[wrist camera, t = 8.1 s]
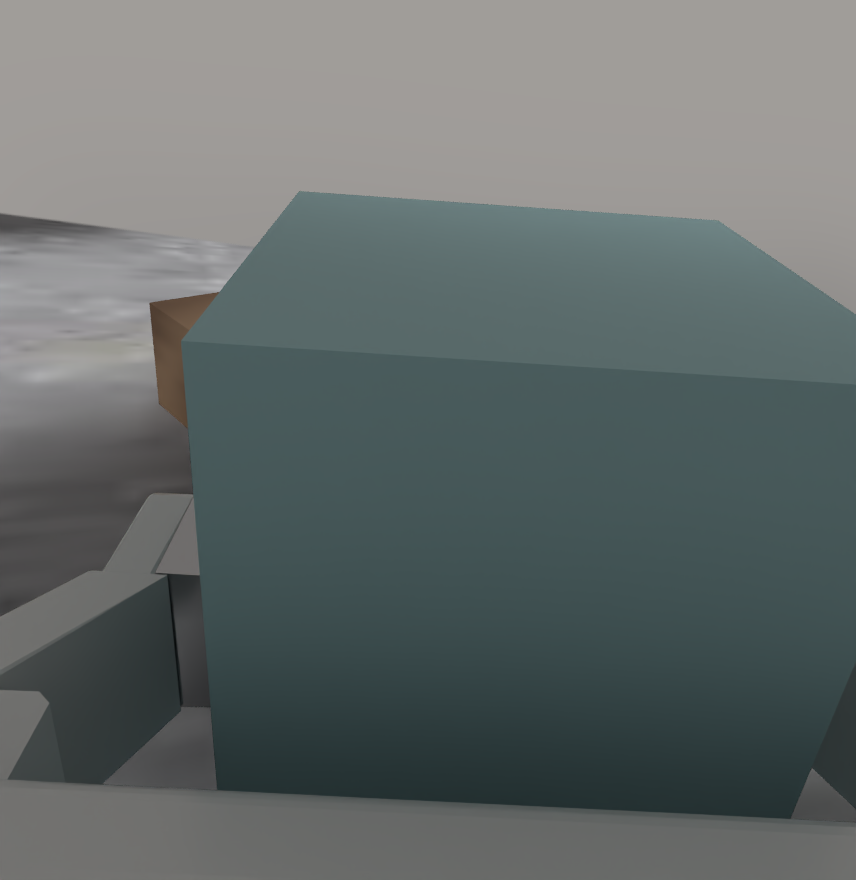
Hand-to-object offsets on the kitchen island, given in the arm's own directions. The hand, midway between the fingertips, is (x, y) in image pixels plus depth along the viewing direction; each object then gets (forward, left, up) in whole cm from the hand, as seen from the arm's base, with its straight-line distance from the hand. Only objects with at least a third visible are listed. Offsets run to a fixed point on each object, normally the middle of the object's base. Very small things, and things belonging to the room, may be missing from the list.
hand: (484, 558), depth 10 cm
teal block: (+1, -1, -6) cm, 6 cm away
